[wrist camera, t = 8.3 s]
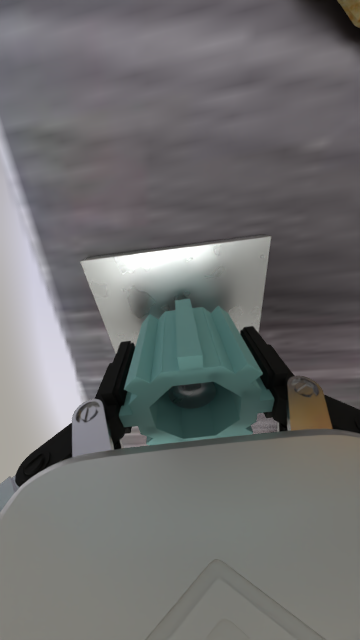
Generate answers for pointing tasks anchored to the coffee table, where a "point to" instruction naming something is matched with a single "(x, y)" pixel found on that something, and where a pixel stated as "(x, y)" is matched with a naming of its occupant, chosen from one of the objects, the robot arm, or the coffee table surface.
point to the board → (180, 290)
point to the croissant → (352, 10)
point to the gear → (192, 377)
